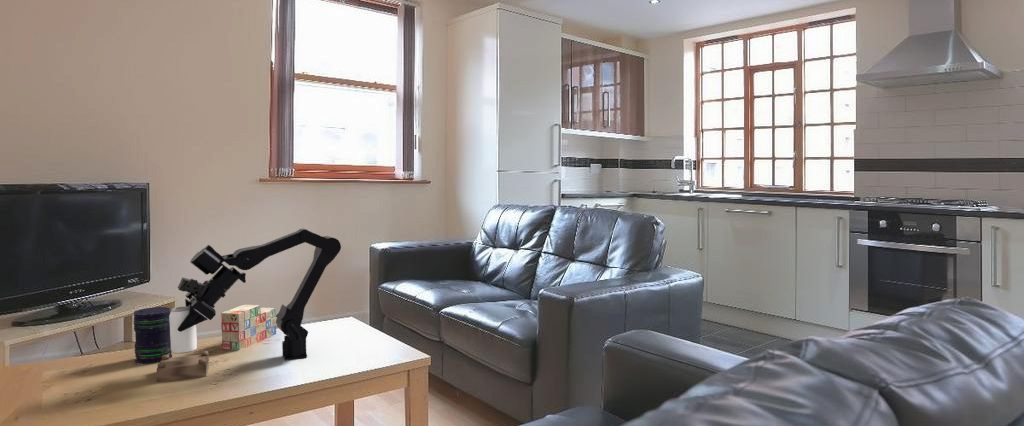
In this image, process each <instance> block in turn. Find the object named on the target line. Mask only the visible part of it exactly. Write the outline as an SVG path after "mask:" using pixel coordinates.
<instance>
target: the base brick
mask: <svg viewBox="0 0 1024 426" xmlns="http://www.w3.org/2000/svg"><path fill="white" fill-rule="evenodd" d="M156 365H157V367H156V382H165V381H174V380H183V379H193V378H201V377H202V378H203V377H204V378H205V377H207V376H208V371H209V367H210V354H209V350H208V351H207V350H204V351H203V350H202V351H200V354H196V355H195V354H194V355H187V356H185V355H184V356H175V357H174V356H172V358H169V355H163V356H162V360H161V362H160V363H156Z"/></svg>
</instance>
